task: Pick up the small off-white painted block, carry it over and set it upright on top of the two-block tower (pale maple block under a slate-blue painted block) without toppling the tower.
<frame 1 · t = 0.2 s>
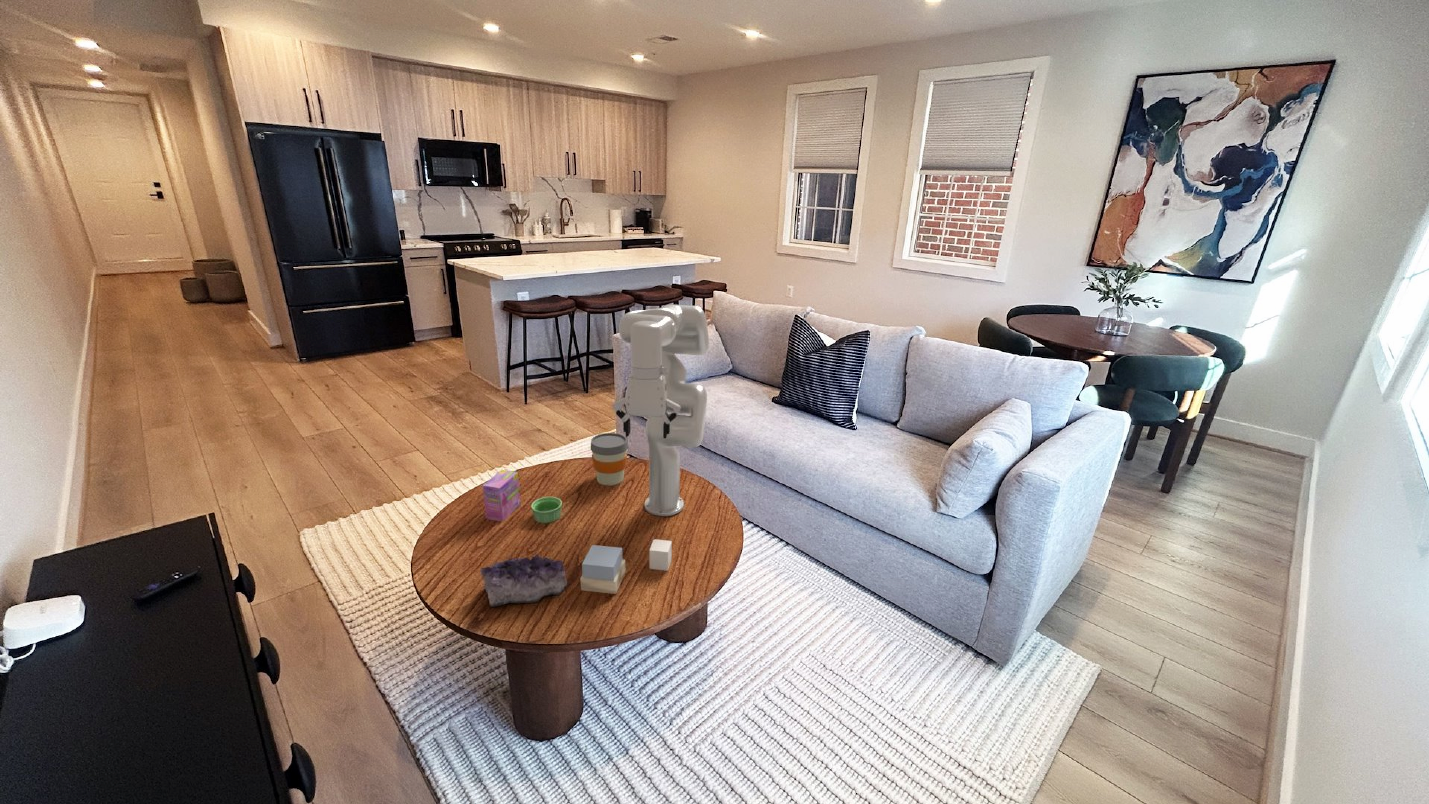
hand: (646, 435, 142), 36 cm above the table, tool pointing down, fingers open, 9 cm apart
ramekin: (547, 517, 170), on the table
geode: (525, 591, 138), on the table
reusable coffee cup: (610, 479, 193), on the table
tower base: (604, 581, 143), on the table
white block: (660, 564, 150), on the table
box: (504, 512, 171), on the table
tower top: (603, 568, 141), point 4 cm above the table
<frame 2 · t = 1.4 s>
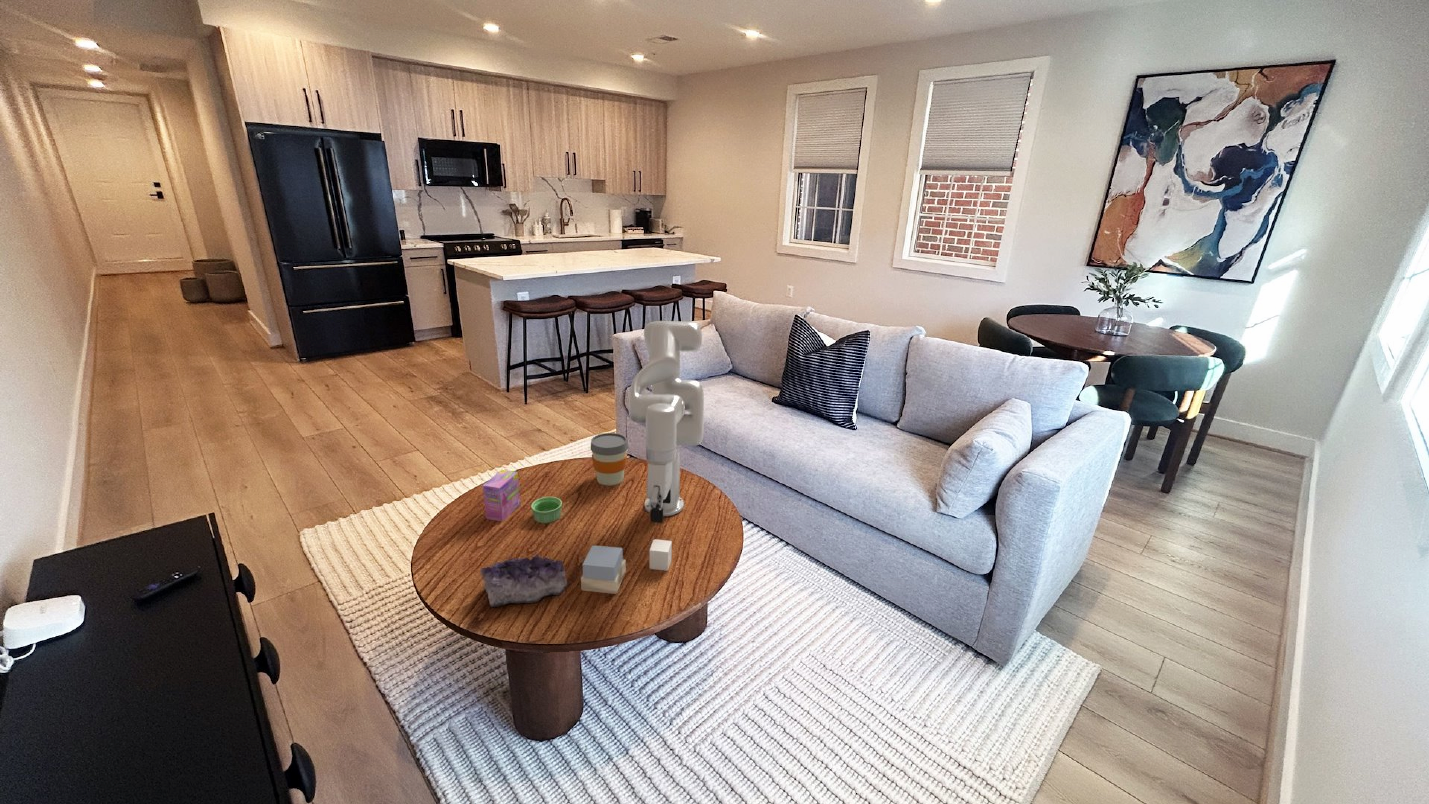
hand: (660, 512, 144), 17 cm above the table, tool pointing down, fingers open, 9 cm apart
tower base: (604, 581, 143), on the table, touching tower top
tower top: (603, 569, 141), point 4 cm above the table, touching tower base
everything else where it was.
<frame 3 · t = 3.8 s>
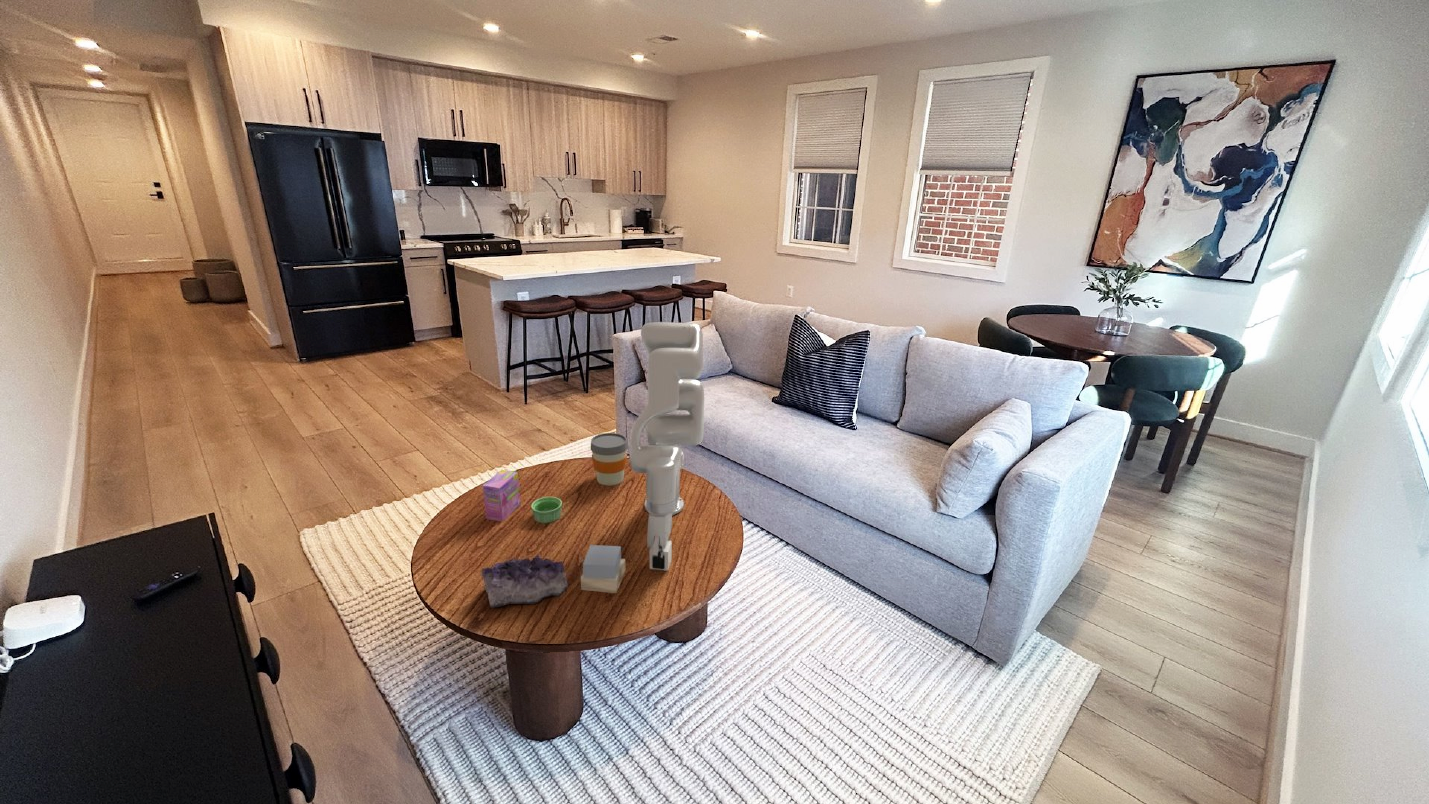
hand: (660, 560, 150), 1 cm above the table, tool pointing down, fingers closed on white block, 5 cm apart
white block: (660, 563, 150), on the table, touching gripper
everything else where it was.
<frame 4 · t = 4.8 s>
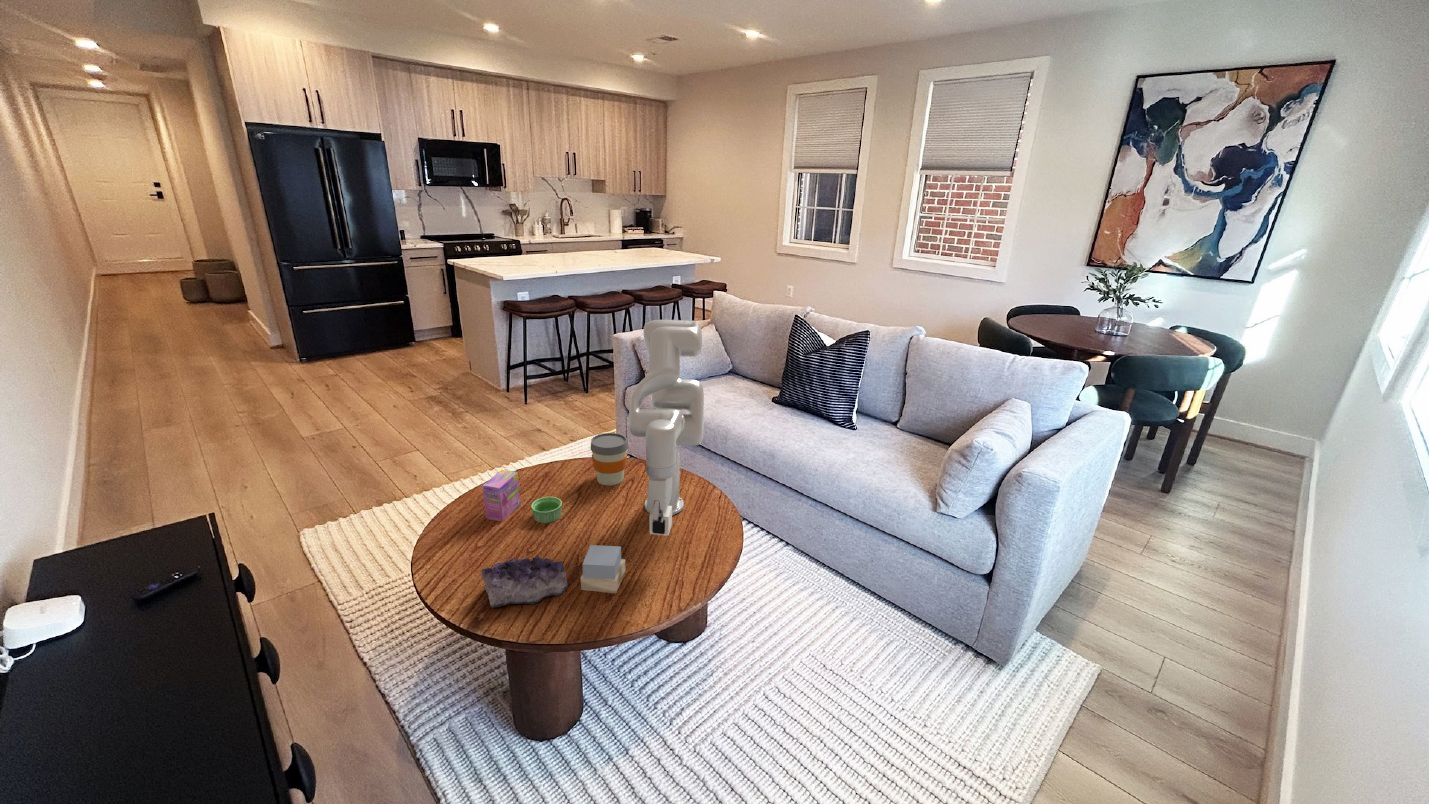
hand: (660, 525, 147), 11 cm above the table, tool pointing down, fingers closed on white block, 5 cm apart
white block: (660, 529, 147), point 10 cm above the table, touching gripper
everything else where it was.
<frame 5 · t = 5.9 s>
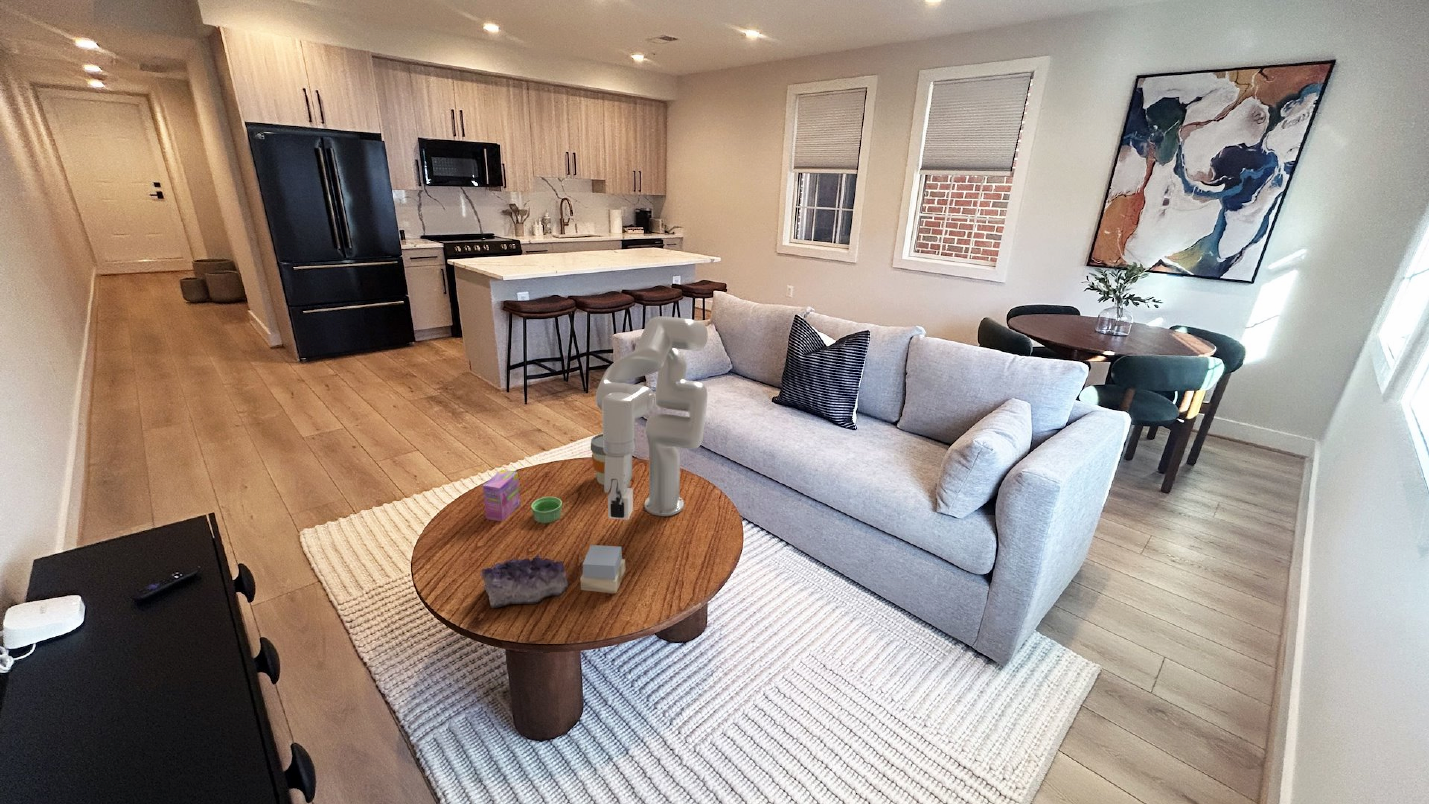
hand: (620, 510, 138), 20 cm above the table, tool pointing down, fingers closed on white block, 5 cm apart
white block: (620, 513, 138), point 19 cm above the table, touching gripper
everything else where it was.
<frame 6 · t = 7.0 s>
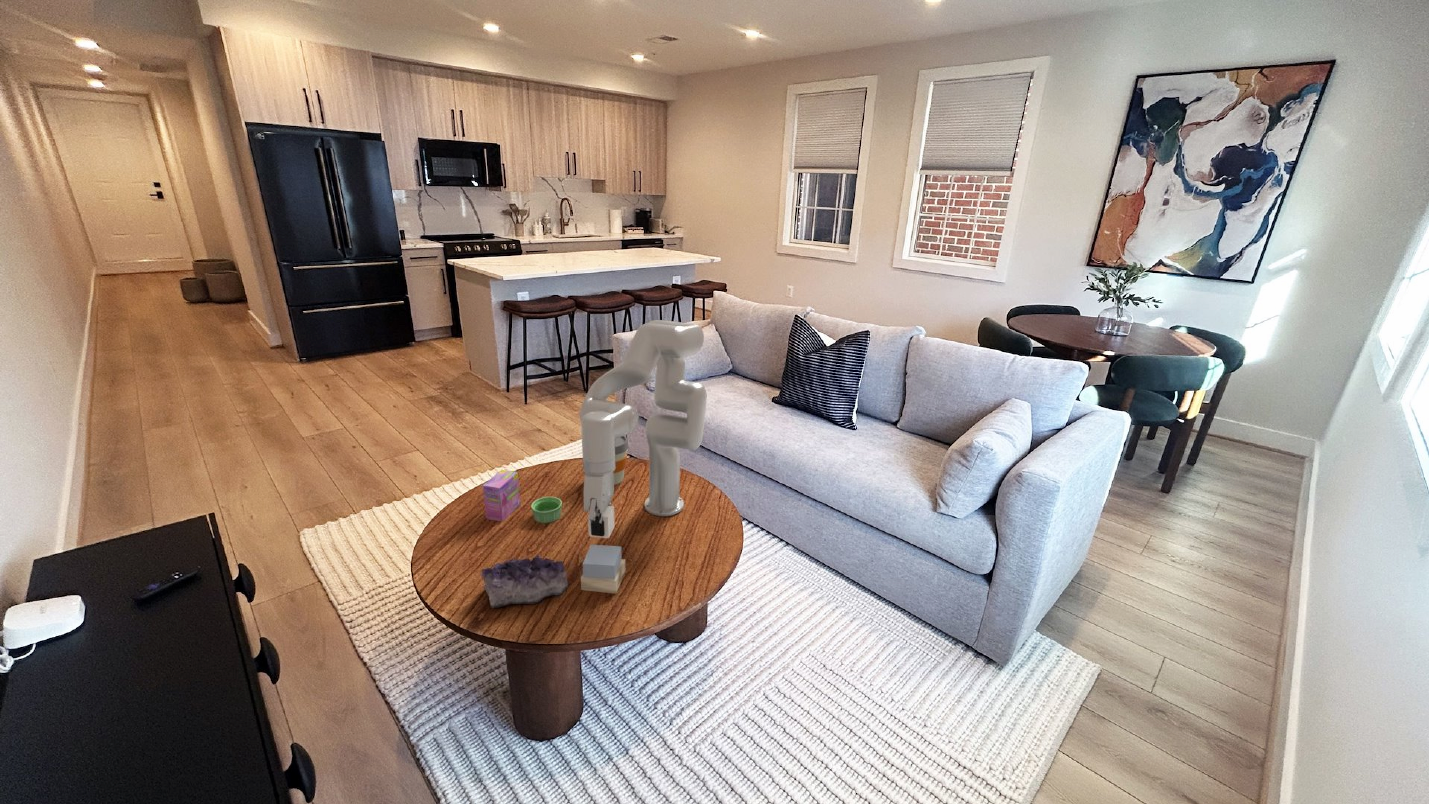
hand: (601, 528, 137), 16 cm above the table, tool pointing down, fingers closed on white block, 5 cm apart
tower base: (604, 581, 143), on the table
white block: (601, 531, 137), point 15 cm above the table, touching gripper
tower top: (603, 567, 142), point 4 cm above the table
everything else where it was.
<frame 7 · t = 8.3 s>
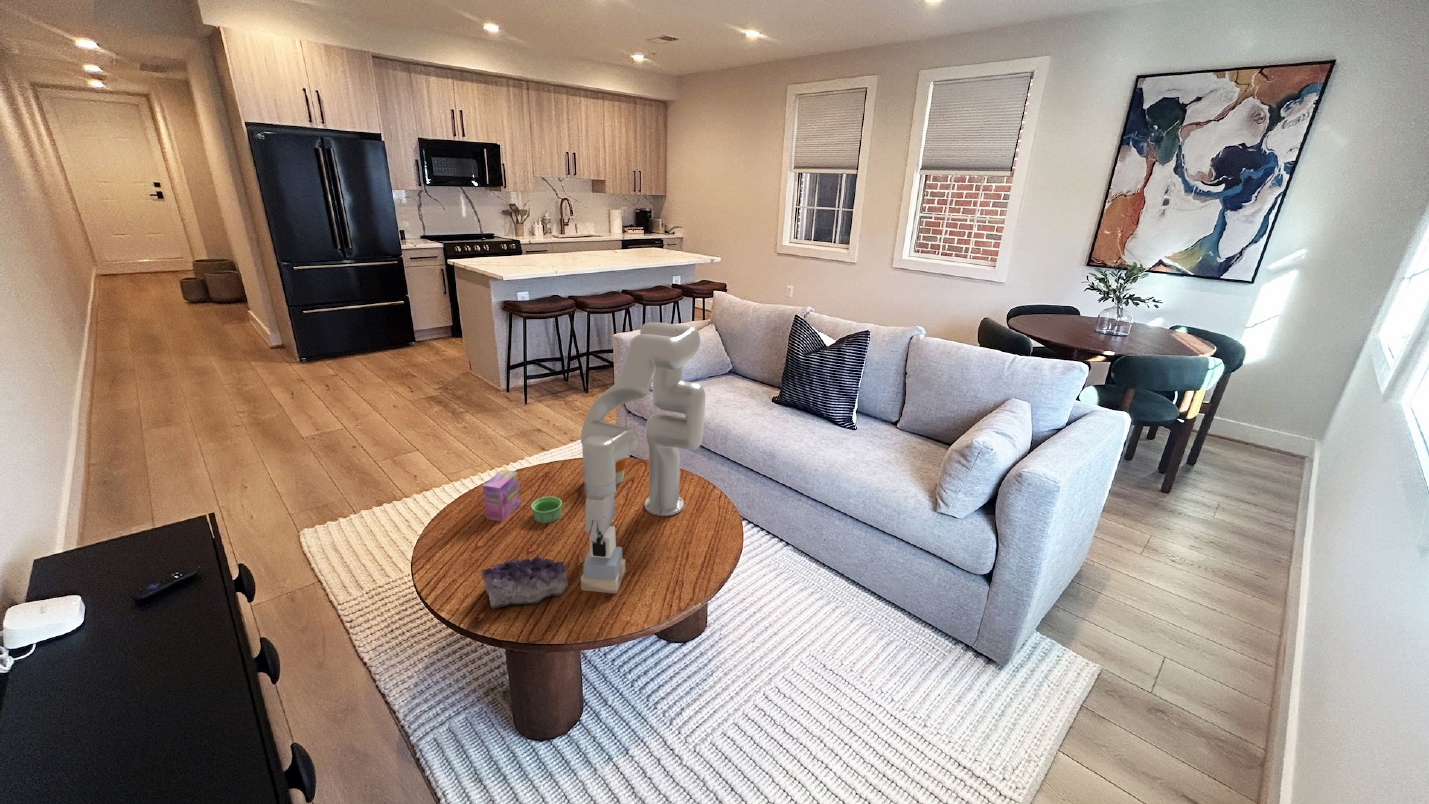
hand: (602, 548, 139), 10 cm above the table, tool pointing down, fingers closed on white block, 5 cm apart
tower base: (604, 581, 143), on the table, touching tower top
white block: (603, 551, 140), point 9 cm above the table, touching gripper
tower top: (603, 568, 142), point 4 cm above the table, touching tower base
everything else where it was.
when the fingers open (10 cm above the table, at t = 9.1 s): white block drops 1 cm, resting on tower top.
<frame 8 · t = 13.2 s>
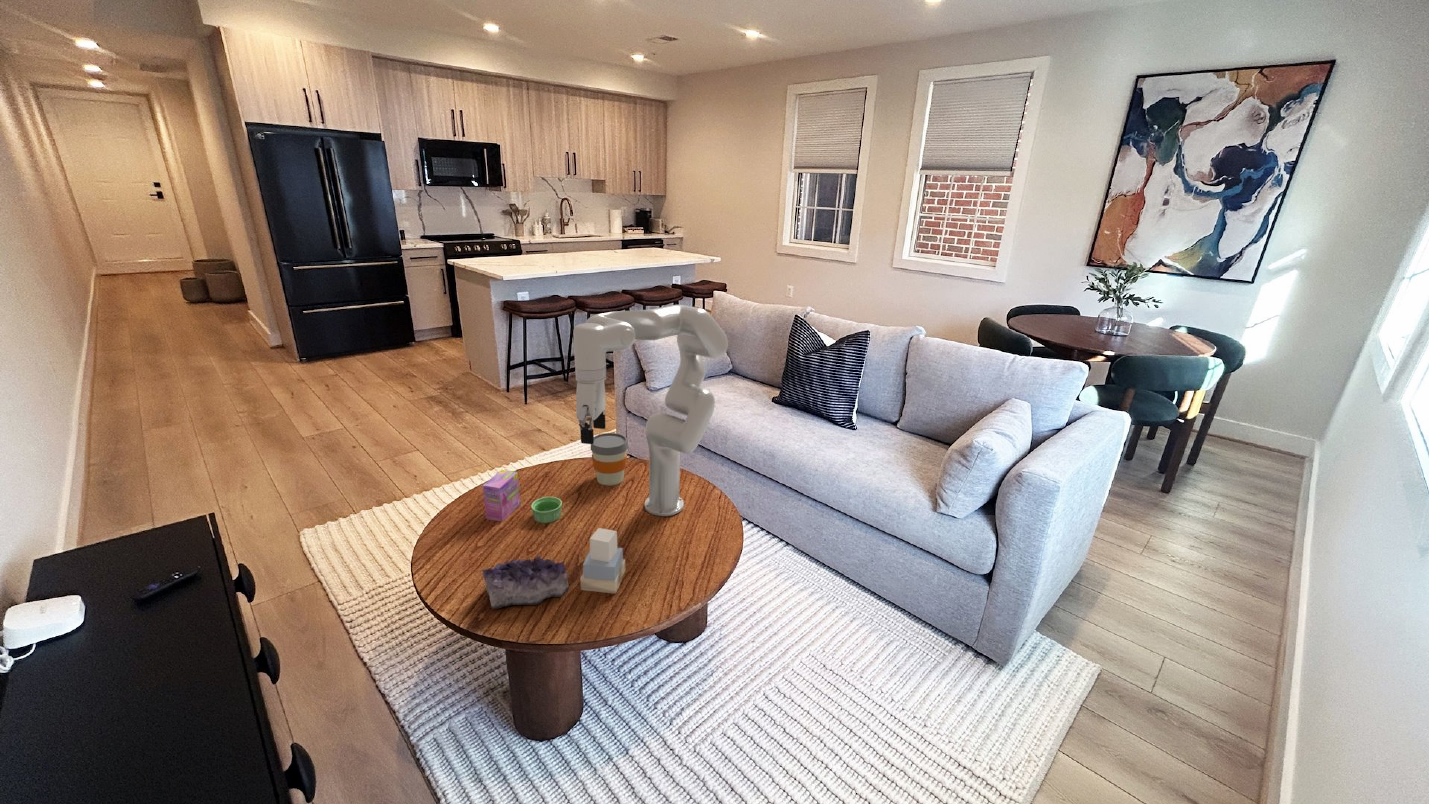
hand: (593, 435, 144), 34 cm above the table, tool pointing down, fingers open, 9 cm apart
white block: (604, 554, 140), point 8 cm above the table, touching tower top
tower top: (603, 569, 141), point 4 cm above the table, touching tower base, white block
everything else where it was.
at the end: white block inside the target area on the tower base (0.1 cm from its centre), point 8.0 cm above the tower base's base; white block tilted 0°; tower top 0.3 cm off-centre on the tower base, point 4.0 cm above the tower base's base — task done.
